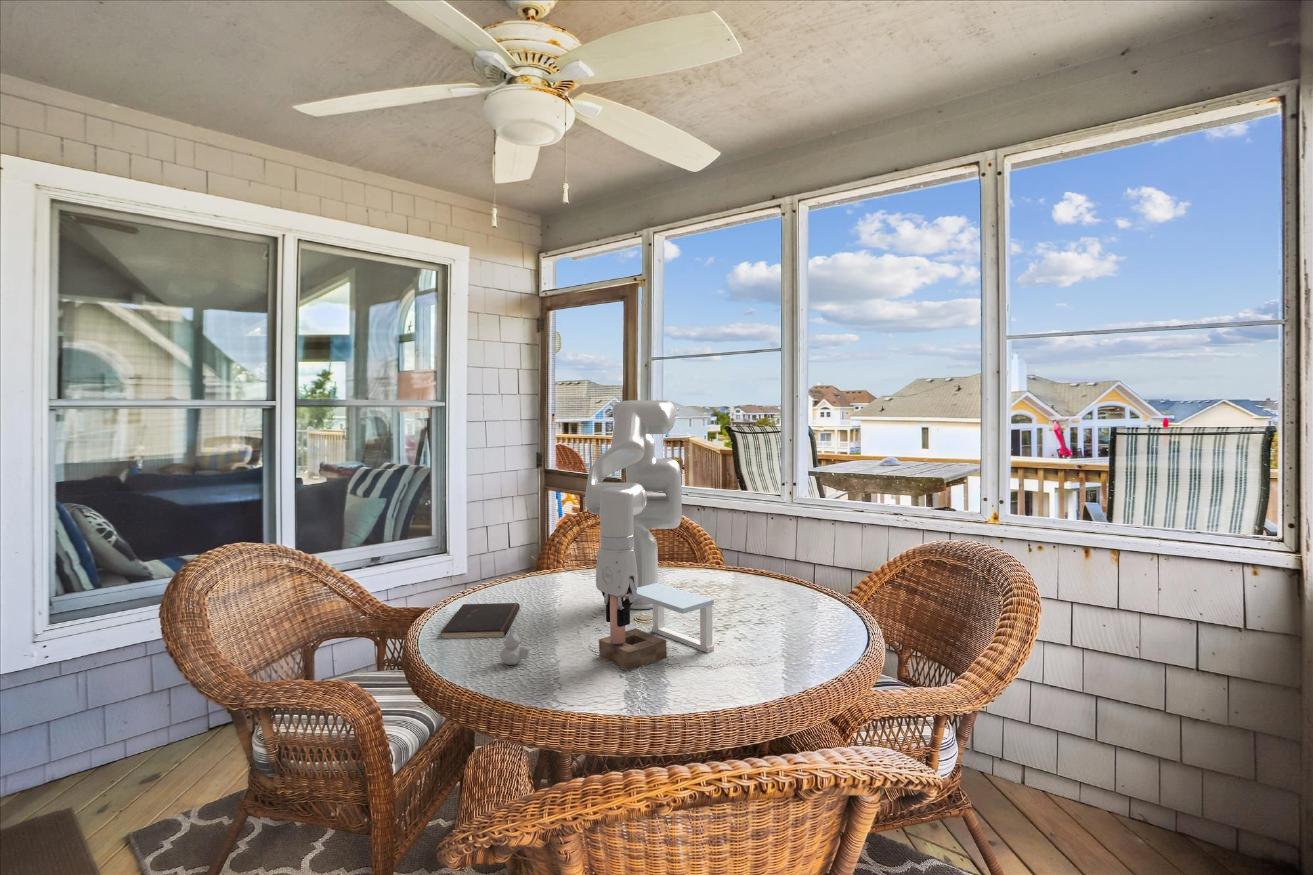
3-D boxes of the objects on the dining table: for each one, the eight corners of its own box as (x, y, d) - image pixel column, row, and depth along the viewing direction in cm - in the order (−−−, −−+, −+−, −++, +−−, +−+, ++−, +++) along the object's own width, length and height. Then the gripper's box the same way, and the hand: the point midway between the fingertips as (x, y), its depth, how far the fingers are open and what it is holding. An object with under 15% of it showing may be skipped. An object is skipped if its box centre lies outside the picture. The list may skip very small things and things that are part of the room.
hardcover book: (440, 640, 164) (440, 631, 164) (463, 611, 187) (463, 603, 187) (505, 639, 165) (504, 630, 165) (519, 610, 188) (519, 602, 188)
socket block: (599, 656, 152) (599, 639, 151) (635, 644, 159) (635, 628, 159) (629, 670, 143) (629, 652, 143) (666, 657, 151) (666, 640, 150)
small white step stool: (627, 638, 163) (627, 590, 162) (657, 629, 170) (657, 582, 169) (683, 661, 148) (682, 608, 147) (713, 650, 155) (713, 599, 154)
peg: (607, 640, 148) (606, 588, 148) (619, 637, 151) (618, 585, 150) (616, 644, 146) (615, 591, 145) (628, 641, 148) (627, 588, 147)
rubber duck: (503, 659, 151) (503, 624, 150) (532, 659, 150) (531, 624, 150) (497, 668, 145) (496, 632, 145) (526, 668, 145) (526, 632, 145)
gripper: (582, 539, 151) (583, 618, 152) (626, 551, 138) (627, 636, 139) (608, 534, 156) (609, 611, 157) (653, 546, 143) (654, 628, 144)
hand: (617, 622), depth 148 cm, fingers closed on peg, 3 cm apart
